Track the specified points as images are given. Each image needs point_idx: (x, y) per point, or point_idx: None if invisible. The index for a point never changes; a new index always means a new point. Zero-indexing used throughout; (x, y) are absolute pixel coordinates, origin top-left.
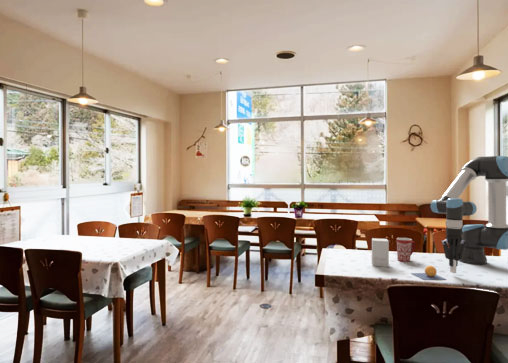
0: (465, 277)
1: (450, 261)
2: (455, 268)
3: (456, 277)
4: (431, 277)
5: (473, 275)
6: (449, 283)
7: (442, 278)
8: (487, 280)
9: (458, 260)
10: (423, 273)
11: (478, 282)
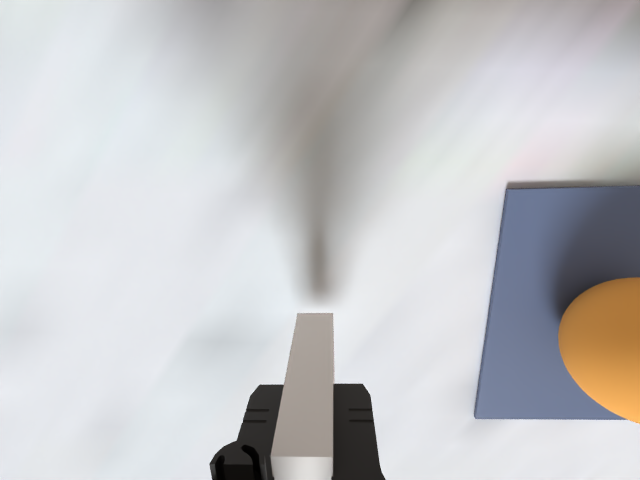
0: (211, 262)
1: (376, 465)
2: (304, 349)
3: (315, 267)
4: (634, 264)
5: (81, 326)
6: (609, 5)
7: (533, 219)
8: (13, 133)
9: (236, 446)
10: (587, 405)
11: (172, 44)
